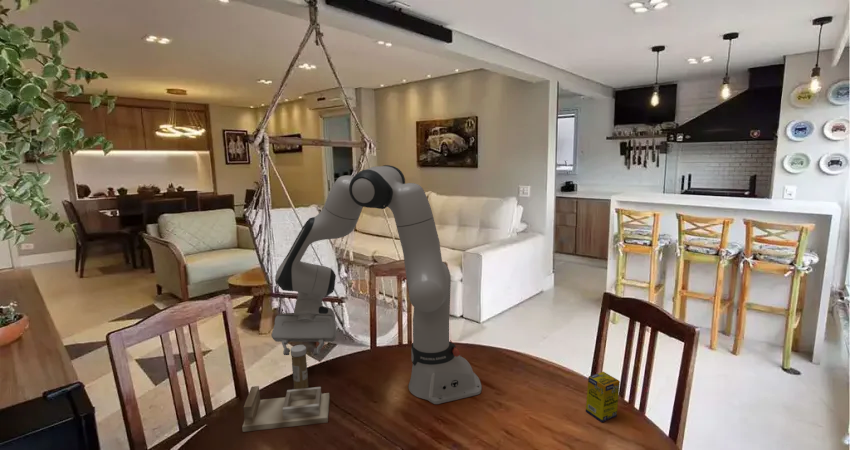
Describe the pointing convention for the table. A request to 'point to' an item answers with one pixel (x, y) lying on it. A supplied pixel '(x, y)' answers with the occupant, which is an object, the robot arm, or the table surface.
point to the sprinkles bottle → (299, 367)
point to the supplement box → (602, 396)
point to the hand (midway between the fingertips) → (301, 354)
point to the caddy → (285, 409)
